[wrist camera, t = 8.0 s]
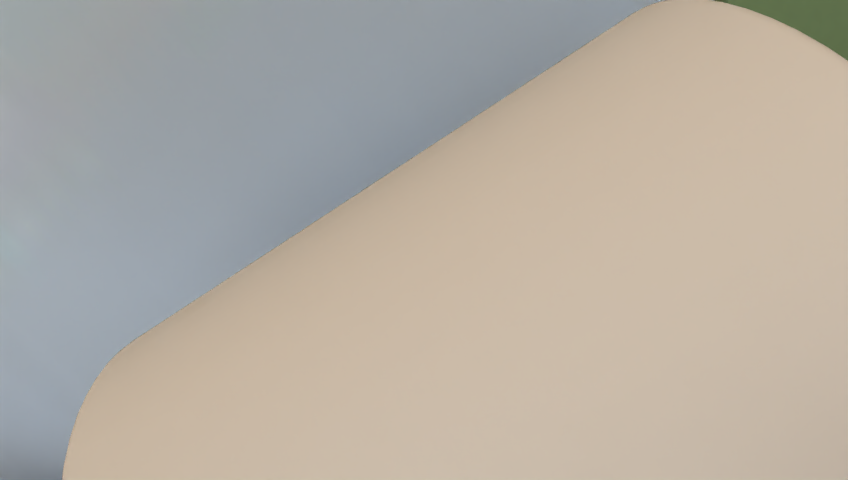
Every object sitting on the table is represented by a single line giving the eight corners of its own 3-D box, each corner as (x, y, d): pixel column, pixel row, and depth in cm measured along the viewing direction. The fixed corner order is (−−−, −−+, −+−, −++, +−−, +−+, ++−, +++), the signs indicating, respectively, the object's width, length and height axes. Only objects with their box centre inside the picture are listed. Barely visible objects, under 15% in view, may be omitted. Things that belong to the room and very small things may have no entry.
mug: (186, 275, 12) (-137, 611, 4) (571, 20, 11) (982, -97, 4) (462, 598, 16) (544, 1100, 8) (774, 423, 15) (1202, 799, 7)
